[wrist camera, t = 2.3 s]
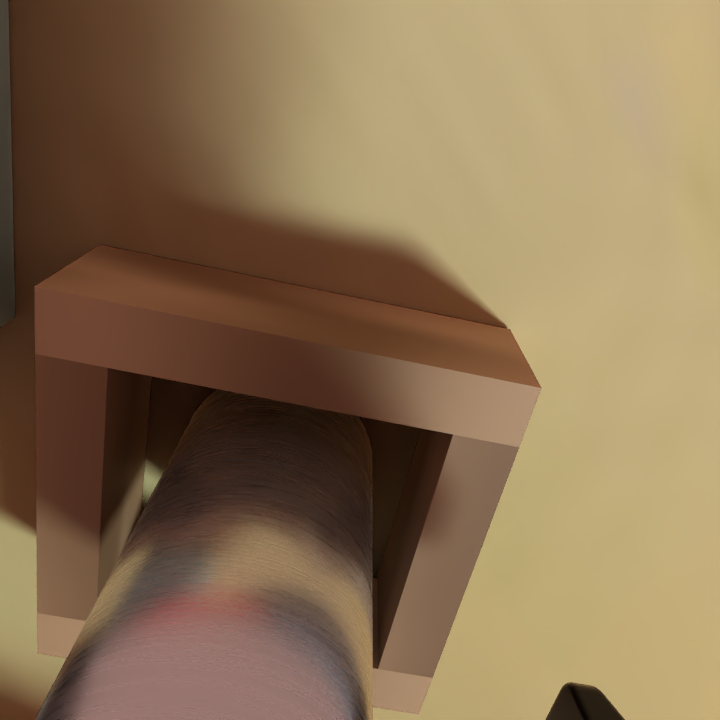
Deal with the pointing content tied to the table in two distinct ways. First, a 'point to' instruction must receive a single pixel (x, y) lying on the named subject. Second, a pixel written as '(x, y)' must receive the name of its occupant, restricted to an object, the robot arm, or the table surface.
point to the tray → (6, 177)
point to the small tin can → (239, 579)
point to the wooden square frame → (277, 382)
